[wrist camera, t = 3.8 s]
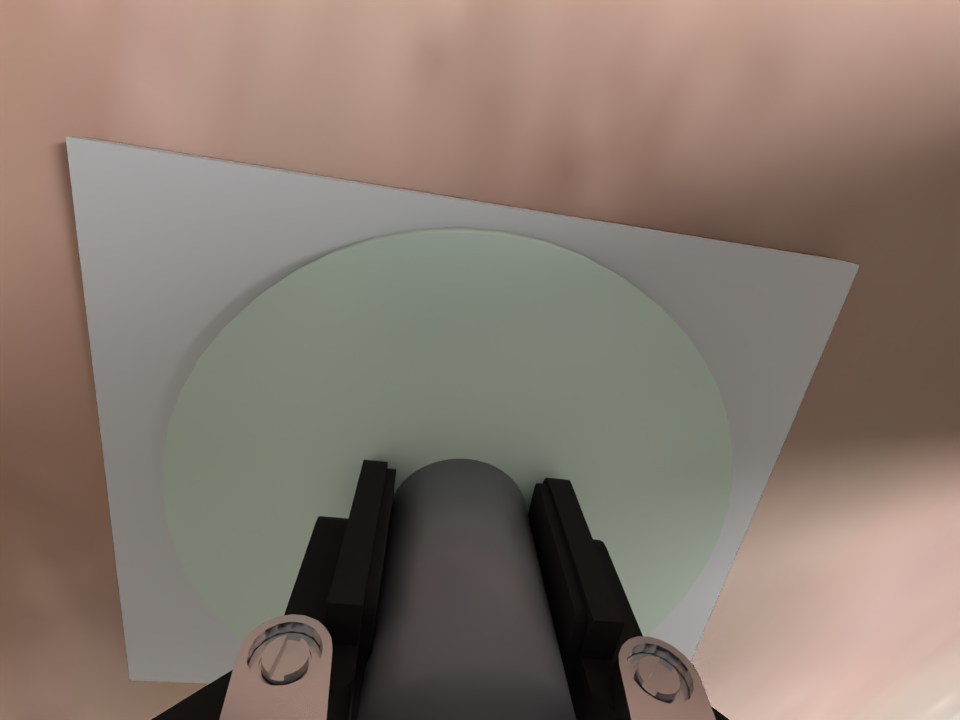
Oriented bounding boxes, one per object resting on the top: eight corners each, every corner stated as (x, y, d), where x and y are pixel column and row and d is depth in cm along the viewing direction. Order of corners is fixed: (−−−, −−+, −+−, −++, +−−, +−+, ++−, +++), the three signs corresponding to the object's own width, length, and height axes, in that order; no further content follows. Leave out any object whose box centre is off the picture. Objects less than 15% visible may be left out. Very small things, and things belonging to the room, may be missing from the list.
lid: (797, 276, 11) (1119, 390, 6) (636, 691, 16) (735, 965, 11) (162, 176, 10) (-187, 208, 4) (190, 668, 14) (39, 977, 9)
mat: (840, 260, 12) (859, 265, 11) (665, 685, 17) (672, 703, 16) (86, 137, 10) (65, 136, 9) (141, 660, 15) (129, 680, 14)
